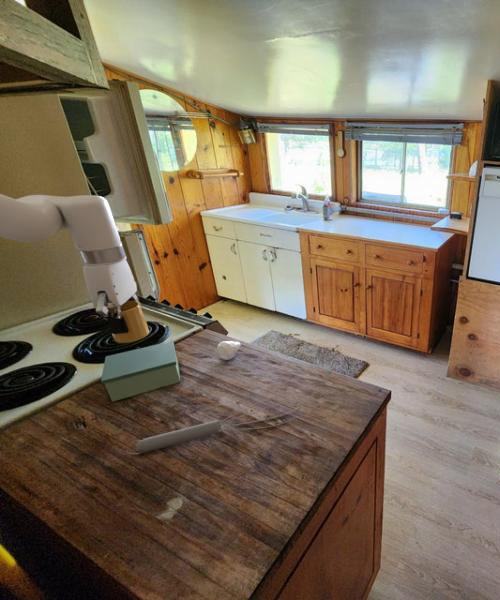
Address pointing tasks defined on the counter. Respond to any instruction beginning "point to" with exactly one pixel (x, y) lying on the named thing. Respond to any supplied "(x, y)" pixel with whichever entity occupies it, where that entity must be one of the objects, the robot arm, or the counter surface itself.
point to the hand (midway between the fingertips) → (128, 324)
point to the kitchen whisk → (197, 431)
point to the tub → (140, 370)
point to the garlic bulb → (228, 349)
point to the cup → (132, 322)
